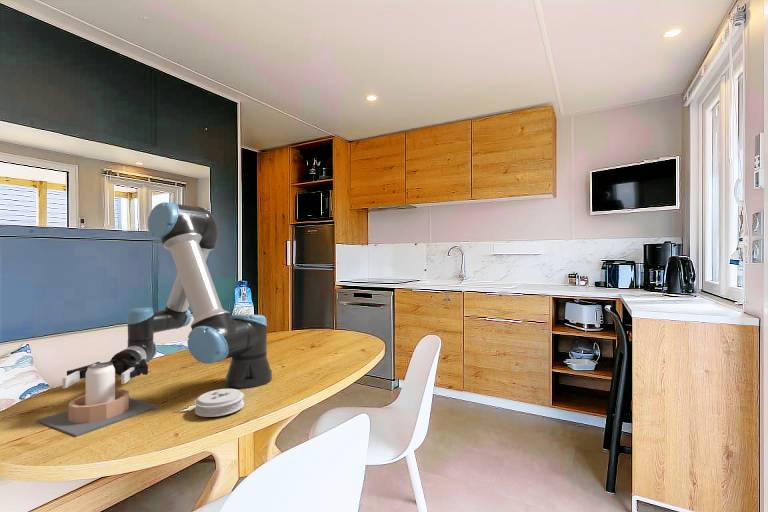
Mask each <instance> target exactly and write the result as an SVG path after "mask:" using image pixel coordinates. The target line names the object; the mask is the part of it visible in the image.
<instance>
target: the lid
mask: <svg viewBox="0 0 768 512" xmlns="http://www.w3.org/2000/svg"><path fill="white" fill-rule="evenodd" d="M244 398H245V393H243V392H242V391H241V390H239V389H238V388H237V389H236V388H220V389H215V390H211V391H207V392H205V393H202V394H201V395H199V396H198V397H197V398H196V399H195V400H194V405H195V409H194V414H195V415H197V416H199V417H205V418H211V417H221V416H222V417H223V416H227V415H229V414H233V413H235V412H238V411H239V410H241V409H242V408H243V407H244V406H245V401H244Z"/></svg>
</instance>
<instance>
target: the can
mask: <svg viewBox="0 0 768 512" xmlns="http://www.w3.org/2000/svg"><path fill="white" fill-rule="evenodd" d="M92 364H93V365H91V364H89V365H90V366H88V369H87V371H86V378H85V395H86V406H88V405H96V404H102V403H107V402H110V401H113V400H115V390H116V377H115V376H116V373H115V368H114V366H113V363H112V362H109V361H106V362H100V363H97V364H94V363H92Z"/></svg>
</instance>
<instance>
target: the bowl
mask: <svg viewBox="0 0 768 512" xmlns="http://www.w3.org/2000/svg"><path fill="white" fill-rule="evenodd" d="M129 398H130V391H129V390H125V389H115V400H113V401H110V402H107V403H102V404H96V405H88V406H86V394H84V395H81V396H78V397H76V398H74V399H72V400H70V401H69V403H68V405H67V406H68V407H67V408H68V410H67V411H68V421H71V422H74V423H88V422H94V421H100V420H105V419H108V418H111V417H114V416H117V415H120V414H122V413H123V412H125V411H127V410H128V409H129Z"/></svg>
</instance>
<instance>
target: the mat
mask: <svg viewBox="0 0 768 512" xmlns="http://www.w3.org/2000/svg"><path fill="white" fill-rule="evenodd" d="M159 407H160V406H159V405H158V404H154V403H151V402H147V401H143V400H140V399H135V398H132V397H129V409H128V410H127V411H125V412H123V413H122V414H120V415H117V416H114V417H111V418H108V419H105V420H100V421H94V422H88V423H74V422H71V421H68V410H65V411H62V412H59V413H58V412H57V413H55V414H52V415H48V416H44V417H41V418H39V419H36V420H35V421H36V422H37V423H39V424H43V425H45V426H47V427H49V426H50V427H49V428H52V429H54V428H55V430H57V431H59V432H62V431H63V433H65V434H67V435H70V436H74V437H75V436H77V437H79V435H80V436H82V435H85V434H88V433H90V431H91V432H93V430H94V431H96V430H98V429H99V430H100V429H102V428H104V426H105V427H107V426H110V425H112V424H115V423H118V422H121V421H124V420H127V419H129V418H133V417H134V416H138V415H141V414H143V413H146V412H148V411H151V410H154V409H157V408H159ZM101 427H102V428H101ZM95 429H96V430H95ZM87 432H88V433H87ZM84 433H85V434H84Z"/></svg>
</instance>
